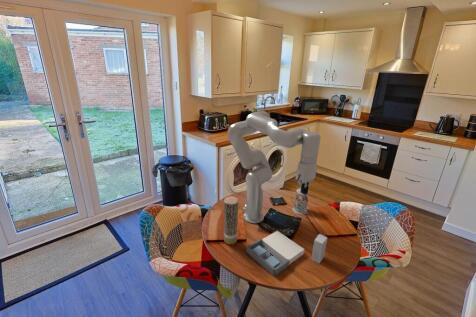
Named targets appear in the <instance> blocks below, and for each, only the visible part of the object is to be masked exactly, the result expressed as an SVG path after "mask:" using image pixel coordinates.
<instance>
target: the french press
mask: <svg viewBox="0 0 476 317" xmlns="http://www.w3.org/2000/svg"><path fill="white" fill-rule="evenodd" d="M300 191H301V187H300V188H297V189H296V192H295V193H292V195H291V197H290V199H291V203H293V207H292V211H293V212H294V213H295V214H297V215H306V214H308V213H309V210H308V204H309V198H308V195H309V194H310V190H308V194H306V195H304V194H302V193H301V192H300ZM294 196H295V200H294V201H293V197H294ZM307 210H308V211H307ZM307 212H308V213H307Z"/></svg>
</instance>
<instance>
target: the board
mask: <svg viewBox="0 0 476 317" xmlns="http://www.w3.org/2000/svg"><path fill="white" fill-rule="evenodd" d="M261 239H262V245H264V246H265V247H266V248H268V249H269V250H270V251H271V252H273V253H274V254H275V255H277V256H278V257H279V258H280V259H282V260H283V261H286V260H287V259H289V260H290V261H289V265H291V264H292V263H294V262H295V261H296V260H298V259H299V258H301V257H302V256H303V255H304V253H305V248H304V247H302V246H300V244H298V243H297V242H295V241H293V240H292V239H290V238H288V237H287V236H286V235H284V234H283V233H282V232H280V231H279V230H276V231H273V232H272V233H271V234H269V235H267V236H266V237H264V238H261Z"/></svg>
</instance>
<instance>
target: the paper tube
mask: <svg viewBox="0 0 476 317" xmlns="http://www.w3.org/2000/svg"><path fill="white" fill-rule="evenodd" d="M223 200H224V202H223V203H224V204H223V205H224V207H223V208H224V209H223V210H224V211H223V213H224V214H223V218H224V220H223V222H224V223H223V232H224V233H223V241H224V243H226V245H234V244H236V243H237V242H238V218H239V217H238V215H239V214H238V213H239V198H238V197H236V196H232V195H231V196H227V197H225V198H224V199H223Z"/></svg>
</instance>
